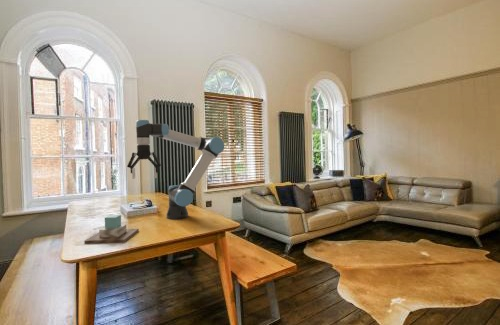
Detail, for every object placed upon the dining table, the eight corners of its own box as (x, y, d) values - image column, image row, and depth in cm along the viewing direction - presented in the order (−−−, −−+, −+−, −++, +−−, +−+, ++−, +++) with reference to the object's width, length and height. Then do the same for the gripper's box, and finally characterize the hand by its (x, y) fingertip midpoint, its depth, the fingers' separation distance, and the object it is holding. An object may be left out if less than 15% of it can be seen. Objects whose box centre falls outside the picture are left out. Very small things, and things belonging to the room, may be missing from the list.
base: (138, 231, 157) (138, 221, 157) (124, 242, 137) (123, 232, 137) (103, 231, 156) (103, 222, 156) (84, 243, 136) (84, 232, 136)
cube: (121, 225, 150) (120, 214, 149) (116, 228, 144) (116, 217, 143) (110, 225, 149) (110, 215, 149) (105, 228, 143) (104, 217, 143)
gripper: (120, 144, 163) (122, 179, 164) (162, 144, 165) (163, 178, 165) (125, 145, 170) (127, 178, 171) (165, 144, 172) (166, 177, 173)
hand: (144, 178), depth 168 cm, fingers open, 13 cm apart
